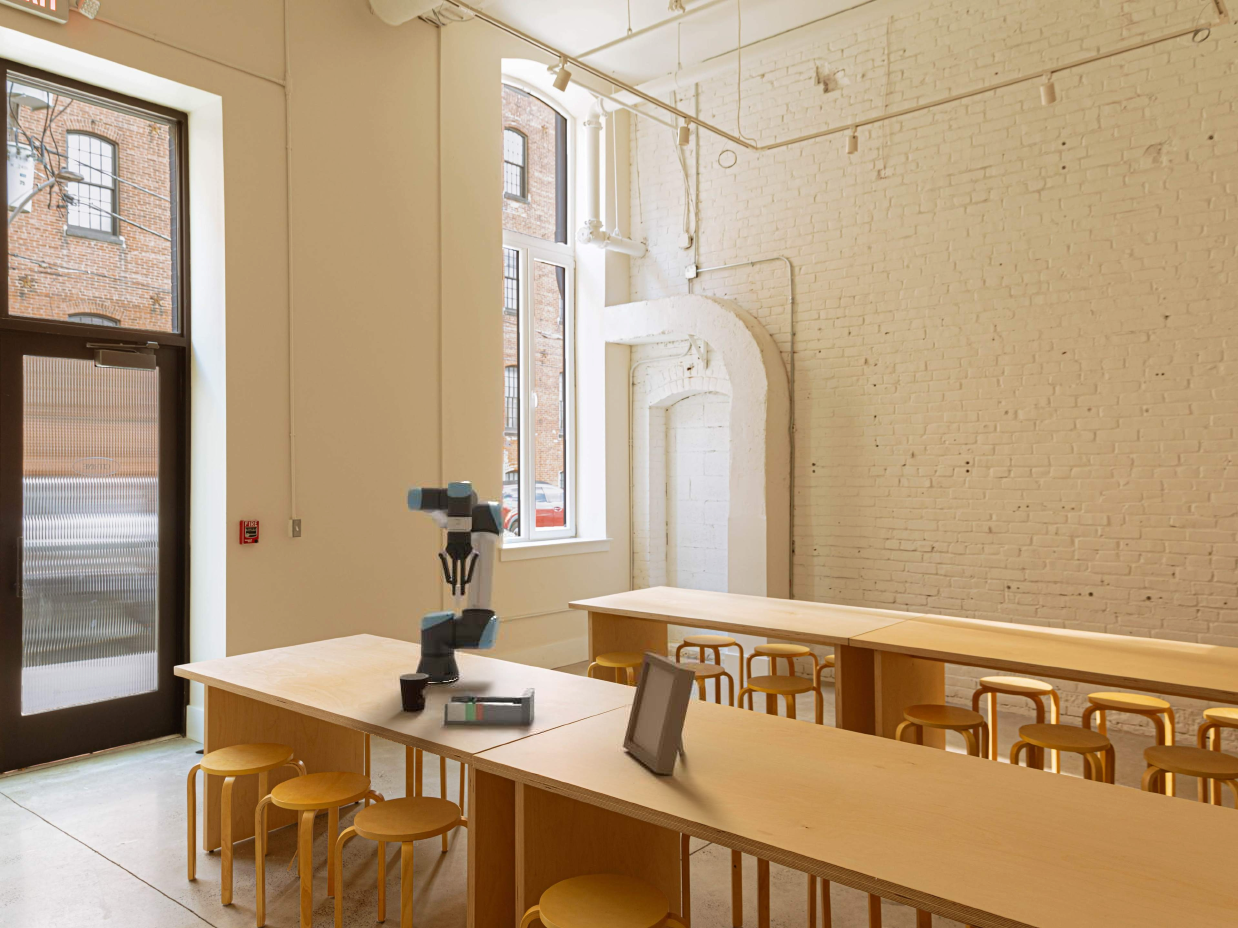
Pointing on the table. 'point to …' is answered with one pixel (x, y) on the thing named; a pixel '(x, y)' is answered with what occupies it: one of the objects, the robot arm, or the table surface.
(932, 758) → the table surface
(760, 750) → the table surface
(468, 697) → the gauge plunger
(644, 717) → the photo frame
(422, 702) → the coffee mug
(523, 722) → the gauge housing
